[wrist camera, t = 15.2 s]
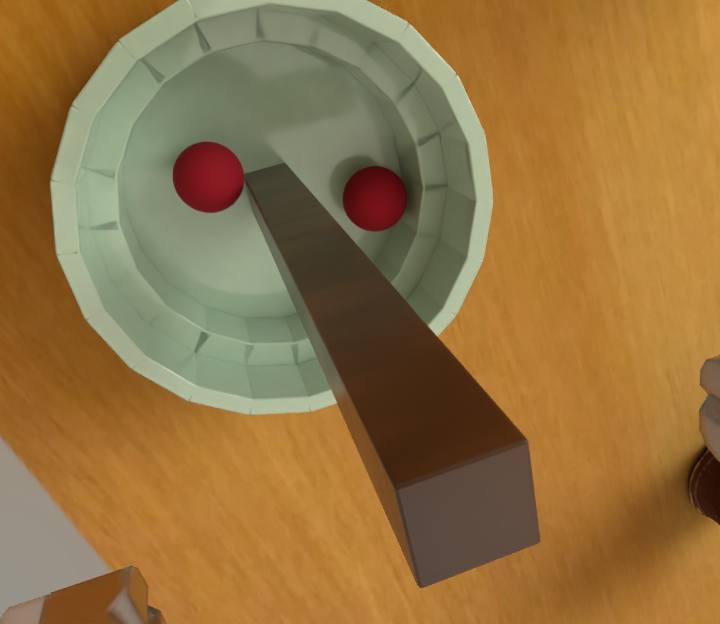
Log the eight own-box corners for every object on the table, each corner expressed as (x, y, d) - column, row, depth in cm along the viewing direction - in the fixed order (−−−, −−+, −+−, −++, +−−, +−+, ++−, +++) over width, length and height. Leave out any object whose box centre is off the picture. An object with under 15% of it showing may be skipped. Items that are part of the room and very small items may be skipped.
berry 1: (165, 169, 25) (167, 222, 24) (178, 120, 23) (181, 174, 22) (231, 179, 26) (236, 230, 25) (249, 133, 24) (255, 186, 23)
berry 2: (420, 173, 27) (377, 203, 28) (373, 142, 25) (331, 175, 27) (421, 224, 25) (376, 251, 27) (372, 194, 24) (327, 225, 25)
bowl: (155, 386, 29) (150, 466, 23) (12, 44, 22) (-39, 46, 17) (454, 292, 31) (512, 345, 25) (399, -45, 25) (461, -68, 19)
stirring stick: (254, 216, 26) (419, 590, 9) (242, 174, 26) (394, 488, 8) (297, 204, 27) (542, 544, 9) (285, 162, 26) (529, 439, 8)
